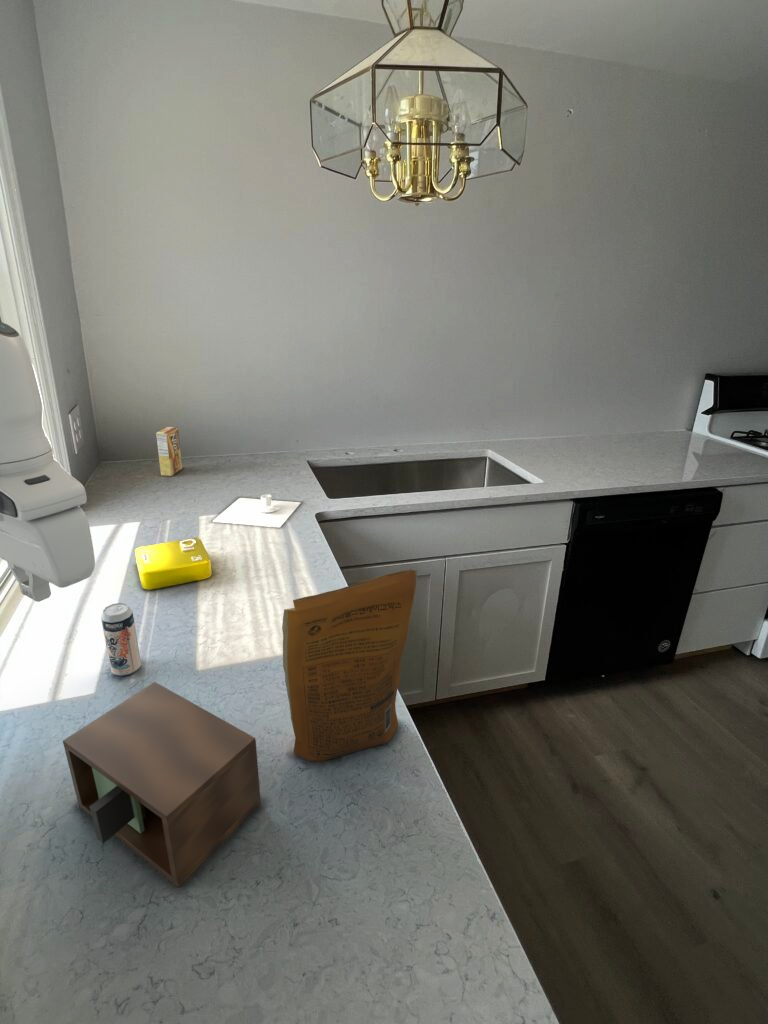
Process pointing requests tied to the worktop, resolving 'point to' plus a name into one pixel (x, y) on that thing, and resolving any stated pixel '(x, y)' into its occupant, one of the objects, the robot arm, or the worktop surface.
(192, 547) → the yellow box
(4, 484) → the robot arm
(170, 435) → the candy box
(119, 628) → the beer can
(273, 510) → the teacup and saucer
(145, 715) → the brown wooden box
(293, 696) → the pancake mix bag
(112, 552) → the worktop surface
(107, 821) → the sliding door
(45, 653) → the worktop surface
